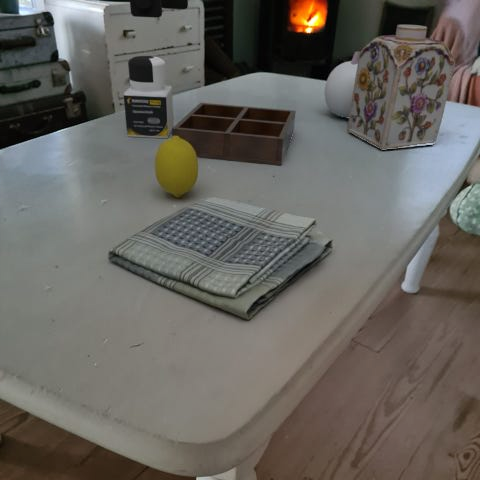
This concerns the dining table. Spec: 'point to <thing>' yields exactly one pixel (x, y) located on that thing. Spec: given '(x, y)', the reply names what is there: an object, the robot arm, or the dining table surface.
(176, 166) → the lemon
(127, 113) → the medicine bottle
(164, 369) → the dining table surface
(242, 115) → the divided wooden tray
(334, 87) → the ornament
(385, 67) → the decorative jar
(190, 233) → the dish towel
